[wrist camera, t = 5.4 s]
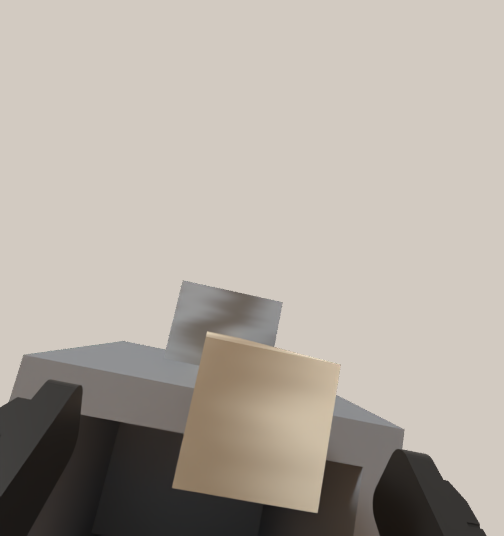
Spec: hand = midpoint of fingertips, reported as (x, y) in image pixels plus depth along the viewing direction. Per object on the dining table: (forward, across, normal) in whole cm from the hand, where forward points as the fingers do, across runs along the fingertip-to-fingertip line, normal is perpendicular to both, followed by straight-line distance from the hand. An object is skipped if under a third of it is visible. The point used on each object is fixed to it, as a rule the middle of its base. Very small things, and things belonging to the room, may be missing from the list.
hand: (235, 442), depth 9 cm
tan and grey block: (+9, 0, +6) cm, 11 cm away
